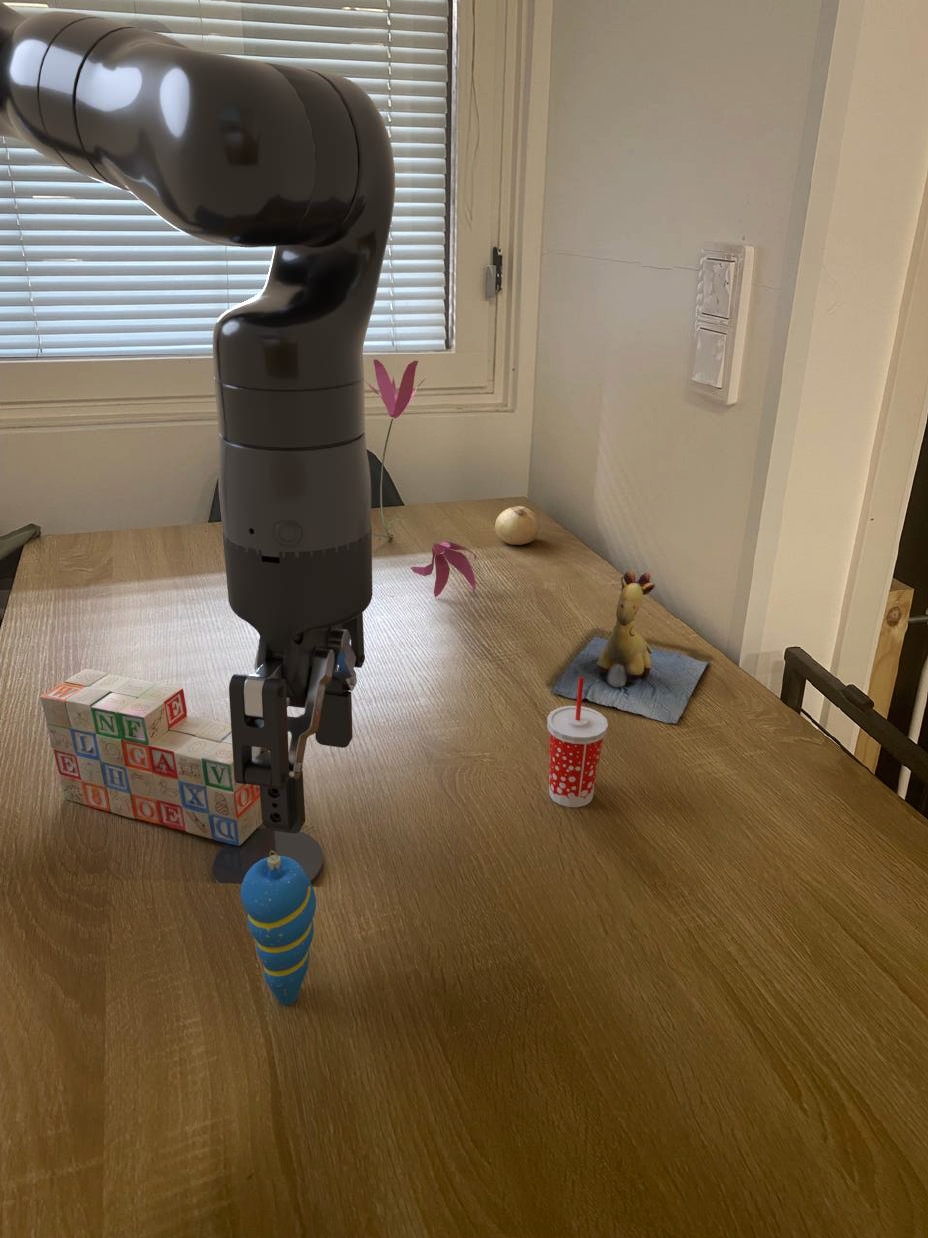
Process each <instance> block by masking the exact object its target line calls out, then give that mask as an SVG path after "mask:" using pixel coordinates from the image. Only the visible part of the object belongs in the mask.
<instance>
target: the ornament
mask: <svg viewBox="0 0 928 1238" xmlns="http://www.w3.org/2000/svg"><path fill="white" fill-rule="evenodd" d="M270 852H274V851H270ZM274 853H275V852H274ZM275 854H276V853H275ZM240 900H241V904H242V906H243V908H244V910H245V912H246V913H247V919H246V920H247V921H246V923H247V927H248V929H249V932H250V934H251V936H252V937H253V938H254V940H255V941H256V945H255V946H256V948H255V949H256V953H257V956H258V958H259V960H260V962H261V963H262V965H263V976H264V980H265V983H266V984H267V986H268V988H269V989H270V991H271V992H272V994H273V995H274V997H275V998H276V1000H277V1002H278V1003H279V1004H280V1005H282V1006H291V1005H294V1004H295V1002H296V1001H297V1000H298V997H299V993H300V991H301V988H302V985H303V982H304V980H305V978H306V975H307V972H308V969H309V964H310V947H311V944H312V942H313V938H314V933H315V932H314V931H315V930H314V929H315V928H314V926H315V925H314V920H313V919H314V917H315V914H316V909H317V897H316V893H315V889H314V887H313V884H312V885H311V882H310V880H309V878H308V877H307V875H306V873H305V871H304V870H303V868H302V867H301V866H300V864H299V863H297V862H296V861H295V860H293V859H291V858H289V857H285V856H277V854H276V855H272V856H271V854H270V857H267V858H264V859H262V860H260V861H258V862H257V863H255V864H254V865H253V866H252V867H251V868H250V870H249V871H248V872H247V874H246V876H245V878H244V880H243V883H242V884H241V887H240Z"/></svg>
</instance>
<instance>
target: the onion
mask: <svg viewBox="0 0 928 1238" xmlns="http://www.w3.org/2000/svg"><path fill="white" fill-rule="evenodd" d="M494 525H495V526H494V530H495V533H496V536H497V537H498V539H499V540H500V541H502V542H503V543H505V544H507V545H511V546H512V545H513V546H515V545H516V546H521V545H526V544H529V543H532V542H533V541H534V540H535V539H536V538H537V536H538V534H539V530H540V522H539V518H538V516H537V515H536V514H535V513H534V512H533V511H532V510H530V509H528V508H527V507H525V506H522V505H519V506H518V505H517V506H511V507H509V508H506V509H504V510H503V511H501V513H499V515H498V516H497V518H496V520H495V523H494Z"/></svg>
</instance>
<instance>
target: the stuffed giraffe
mask: <svg viewBox="0 0 928 1238" xmlns="http://www.w3.org/2000/svg"><path fill="white" fill-rule="evenodd" d="M620 581H621V582H620V584H621V589H620V591H621V592H620V594H619V598H618V601H617V606H616V612H615V616H616V622H615V625H614V626H613V628H612V629H613V630H612V632H611V633H610V635H609V636H608V638H607V639H606V638H601V637H598V636H594V637H593V638H592V639H591V640H590V641H589V642H588V643H587V644H586V645H585V647H584V648H583V649H582V650H581V651H580V652H579V653H578V654H577V655H576V657H575V658H574V659H573V660H572V661H571V663H570V664H569V665H568V667H567V669H565V670H564V672H563V673H562V675H560V677H559V678H558V680H557V682H556V683H555V685H554V686H553V687H552V689H551V690H550V693H553V694H555V695H560V696H562V697H565V698H568V699H573V700H577V695H578V684H579V677H580V676H583V677H584V682H583V693H582V700H585V699H587V700H588V701H589V702H592V703H596V704H598V705H601V706H605V707H614V708H617V709H618V710H620V711H624V712H625V711H626V712H629V713H633V714H636V715H637V714H638V715H642V716H643V717H646V718H648V719H652V720H656V721H660V722H661V723H662V722H663V723H666V724H678V721H679V719H680V717H681V716H682V715H683V714H684V711H685V709H686V707H687V704H688V703H689V700H690V698H691V696H692V694H693V692H694V690H695V688H696V686H697V684H698V682H699V680H700V678H701V676H702V675H703V673H704V671H705V669H706V667H707V666H708V663H709V662H707V661H701V660H699V659H696V658H694V657H691V656H688V655H685V654H683V653H681V652H676V651H668V650H663V649H658V648H655V647H652V646H650V645H649V644H648V642H647V641H646V639H645V638H644V637H642V636H641V635H640V634H639V633H638V632H637V631H636V630H635V628H634V624H635V617H636V616H637V614H638V612H639V611H640V608H641V604H642V600H643V597H644V596H645V595H649V593H651V592H652V591H653V590H654V589H655V587H656V584H655V583H653V582H650V581H651V576H650V573H649V572H645V573H643V574H642V575H640V576H639V579H638V580H637V581H636V575H635V573H634V571H630V570H629V571H627V572H625V574H623V576H622V577H620Z"/></svg>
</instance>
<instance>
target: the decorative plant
mask: <svg viewBox="0 0 928 1238" xmlns="http://www.w3.org/2000/svg"><path fill="white" fill-rule="evenodd" d="M418 364H419V360H413V361H412V362H409V363H408V364H407V366H406V368H405V370H404V372H403V375H402V378H401V382H400V385H399V387H396V383H395V377H394V376H392V381H391V378H390V375H389V373H388V371H387V369H386V368H385V366H384V364H383V363H381V362H380V360H379V359H373V366H374V371H375V378H376V379H375V380H376V383H377V387H378V389H379V391H377V389H376V388H375V387H374V386H372V385H371V384H370V383H368V381H367V380H366V379H365V378H364V382H365V383H366V384H367V385H368V387H369V388H370V389H371V390H372V391H373V393H375V394H377V395H379V396H380V398H381V401H382V402H383V404H384V405H385V407H386V410H387V413H388V415H389V416H390V418H391V421H390V424H389V428H388V431H387V435H386V440H385V444H384V448H383V454H382V461H381V469H380V483H379V485H380V487H379V498H380V499H379V504H380V505H379V507H380V515H381V521H382V525H383V529H384V531H385V533H386V535H382V534H378V533H375V532H372V535H374V536H377V537H380V538H378V542H380V541H381V540H382V539H383V538H388V539H390V538H391V537H393V536H394V534H390V533H389V528H390V525H391V524H392V523H393V522H395V521H404V522H405V523H407V521H406V520H403V519H401V518H400V519H399V518H395V519H391V520H390V521H389V522H388V524H387V525H386V522H385V516H384V509H383V479H384V478H383V476H384V466H385V464H384V463H385V457H386V451H387V447H388V441H389V437H390V434H391V428H392V424H393V421H394V419H398V418H399V417H400V416H401V415H402V414H403V413H404V412H405V410H406V409H407V408H408V407H409V405H410V403H411V401H412V400H413V398H414V396H415V394H416V393H417V390H418V388H419V387H420V385H422V383H424V381H425V380H426V379H427V378H428V374H426V375H425V378H424V379H423V380H422V381H420V383H419V384H418V385H417V387H416V388H415V389H414V385H415V384H414V383H415V376H416V369H417V366H418ZM379 392H380V393H379ZM428 539H429V537H428ZM429 541H431V539H429ZM431 542H432V541H431ZM460 550H461V551H466V552H469V553H471V554H472V555H473V557H474V560H477V555H476V554H475V553H474V552H473V551H471V550H470V549H468V548H467V547H465V546H463V545H461V544H457V543H454V542H451V541H442V542H441V543H433V545H432V549H431V551H432V558H431V563H429V564H427V565H426V566H411V567H410V570H411V571H412V572H413V573H414V574H418V575H420V576H422V577H427V576H430V575H432V574H433V571H434V568H435V581H434V587H433V596H434V599H436V598H437V597H438V596H439V595H441V593H442V592H443V590H444V588H445V587H446V586H447V583H448V582H449V581H448V580H449V577H450V571H451V569H452V570H453V571H454V570H455V571H456V570H458V572H459V573H460V574H462V575H463V577H464V578H465V579H466V581H467V582H468V584H469V585H470V586H471V588H472V590H473V593H474V594H476V586H477V585H476V584H477V581H476V578H475V575H474V571H473V568H472V565H471V564H470V561H469V559H468V558H467V556H466V555H465V554H464V553H462V552H460ZM449 564H450V565H451V566H452V567H451V566H450V565H449ZM434 566H435V567H434ZM450 567H451V568H450ZM453 567H454V568H453Z"/></svg>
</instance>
